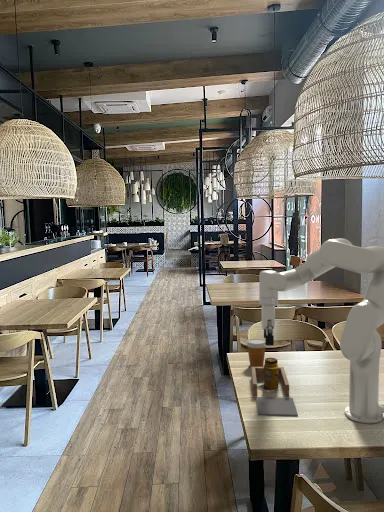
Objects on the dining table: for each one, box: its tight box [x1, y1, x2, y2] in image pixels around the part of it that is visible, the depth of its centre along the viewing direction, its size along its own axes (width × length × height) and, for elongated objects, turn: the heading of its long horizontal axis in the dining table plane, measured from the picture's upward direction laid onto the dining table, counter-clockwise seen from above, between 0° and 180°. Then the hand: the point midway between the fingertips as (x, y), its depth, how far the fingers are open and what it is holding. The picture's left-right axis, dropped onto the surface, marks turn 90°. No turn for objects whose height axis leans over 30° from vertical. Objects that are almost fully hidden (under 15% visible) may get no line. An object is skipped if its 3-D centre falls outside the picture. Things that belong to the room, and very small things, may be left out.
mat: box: [255, 396, 299, 417], centre depth 155 cm, size 14×14×1 cm
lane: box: [250, 366, 290, 398], centre depth 173 cm, size 14×20×5 cm
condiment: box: [257, 357, 283, 394], centre depth 172 cm, size 7×8×12 cm
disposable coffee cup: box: [246, 338, 267, 368], centre depth 198 cm, size 10×10×12 cm
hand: (268, 341), depth 171 cm, fingers open, 9 cm apart
